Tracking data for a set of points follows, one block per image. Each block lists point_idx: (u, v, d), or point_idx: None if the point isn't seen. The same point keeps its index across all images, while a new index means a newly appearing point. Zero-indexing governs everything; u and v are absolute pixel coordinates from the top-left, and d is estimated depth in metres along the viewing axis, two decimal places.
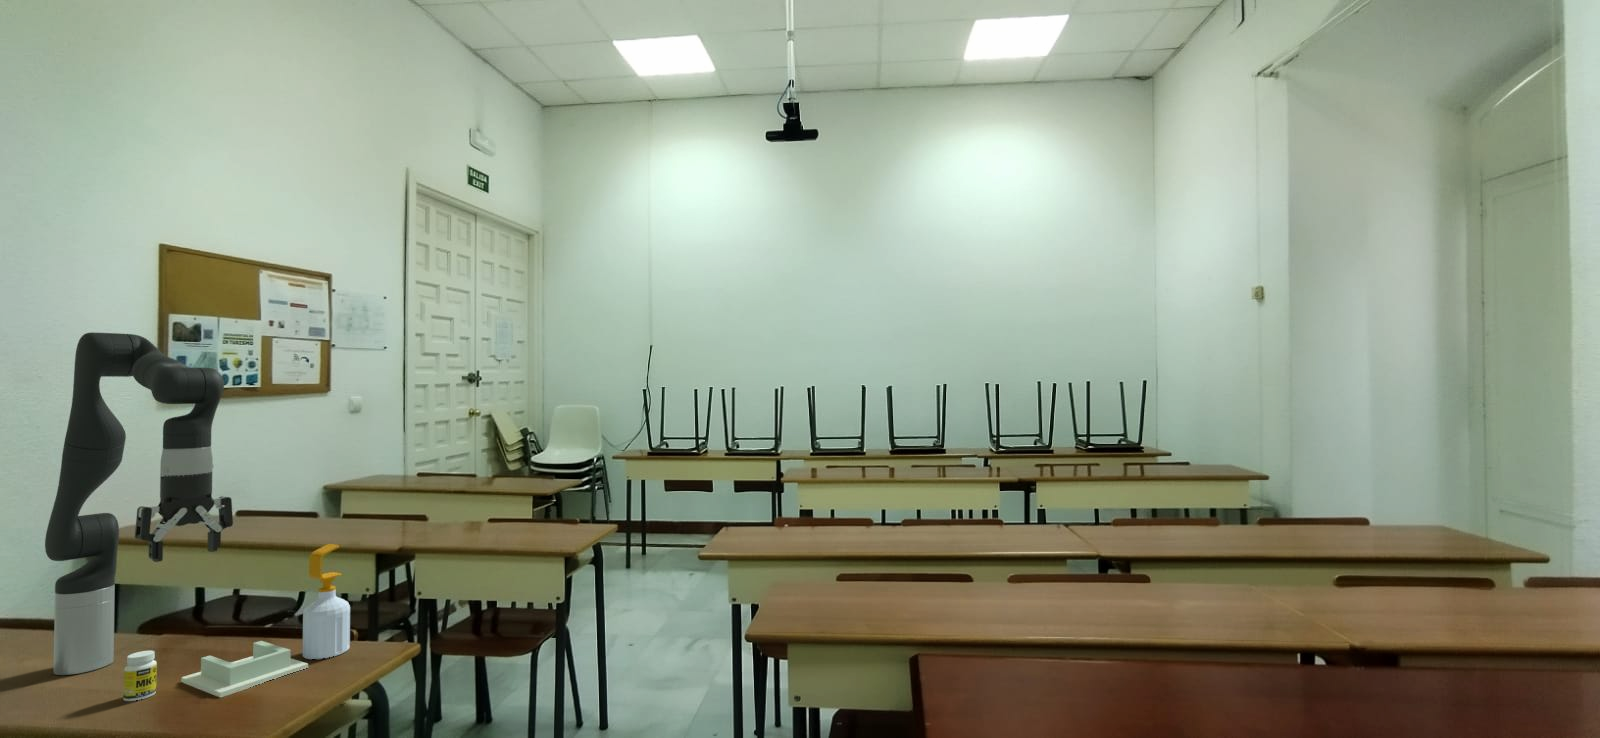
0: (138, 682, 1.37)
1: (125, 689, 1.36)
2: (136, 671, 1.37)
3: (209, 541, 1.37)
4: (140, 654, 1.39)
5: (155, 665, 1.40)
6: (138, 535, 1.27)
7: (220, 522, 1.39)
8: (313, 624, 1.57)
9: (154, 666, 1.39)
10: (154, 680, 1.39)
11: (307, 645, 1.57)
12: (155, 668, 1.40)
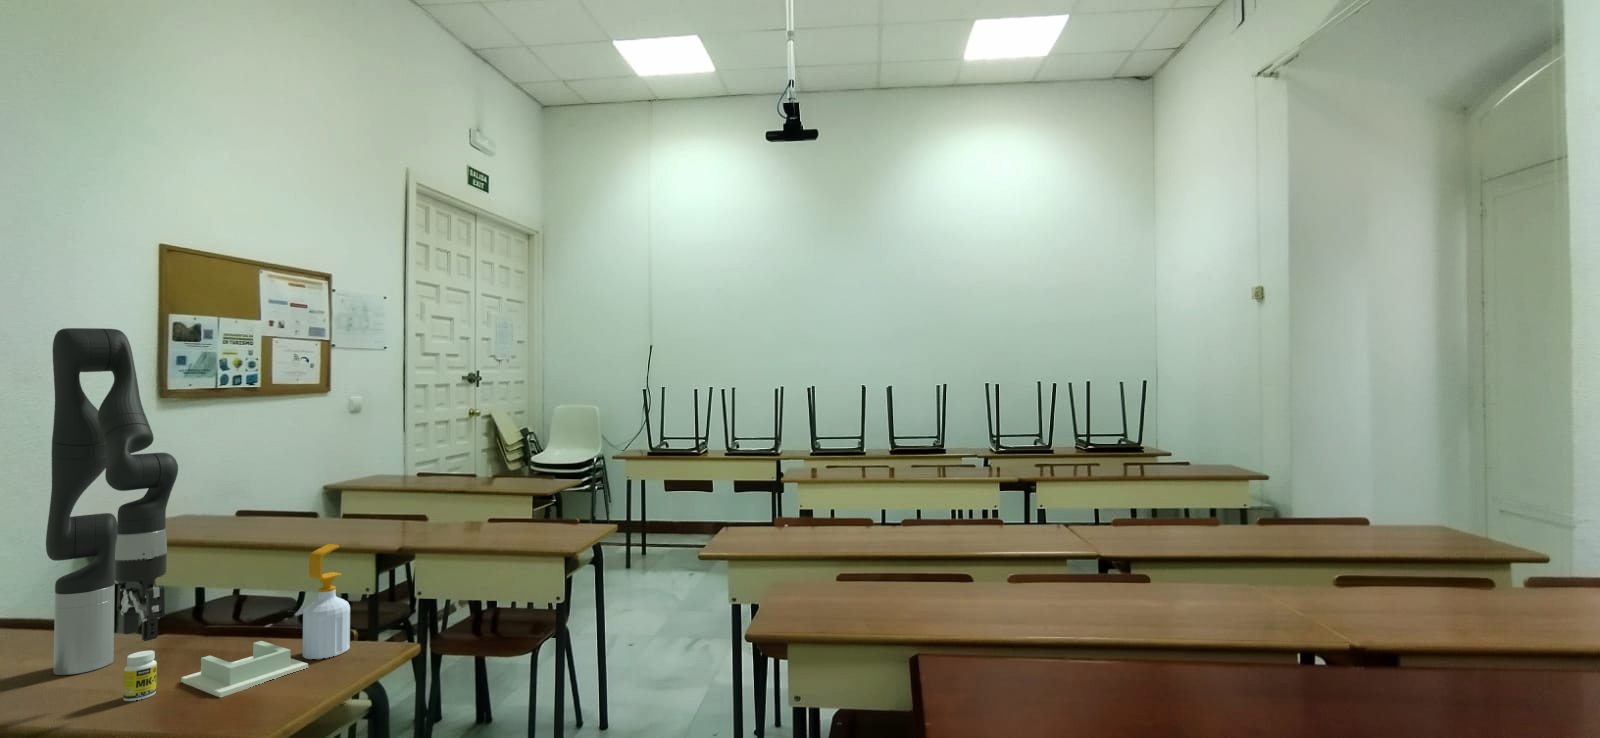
0: (138, 682, 1.37)
1: (125, 689, 1.36)
2: (136, 671, 1.37)
3: (129, 624, 1.40)
4: (140, 654, 1.39)
5: (155, 665, 1.40)
6: (155, 614, 1.35)
7: None
8: (313, 624, 1.57)
9: (154, 666, 1.39)
10: (154, 680, 1.39)
11: (307, 645, 1.57)
12: (155, 668, 1.40)
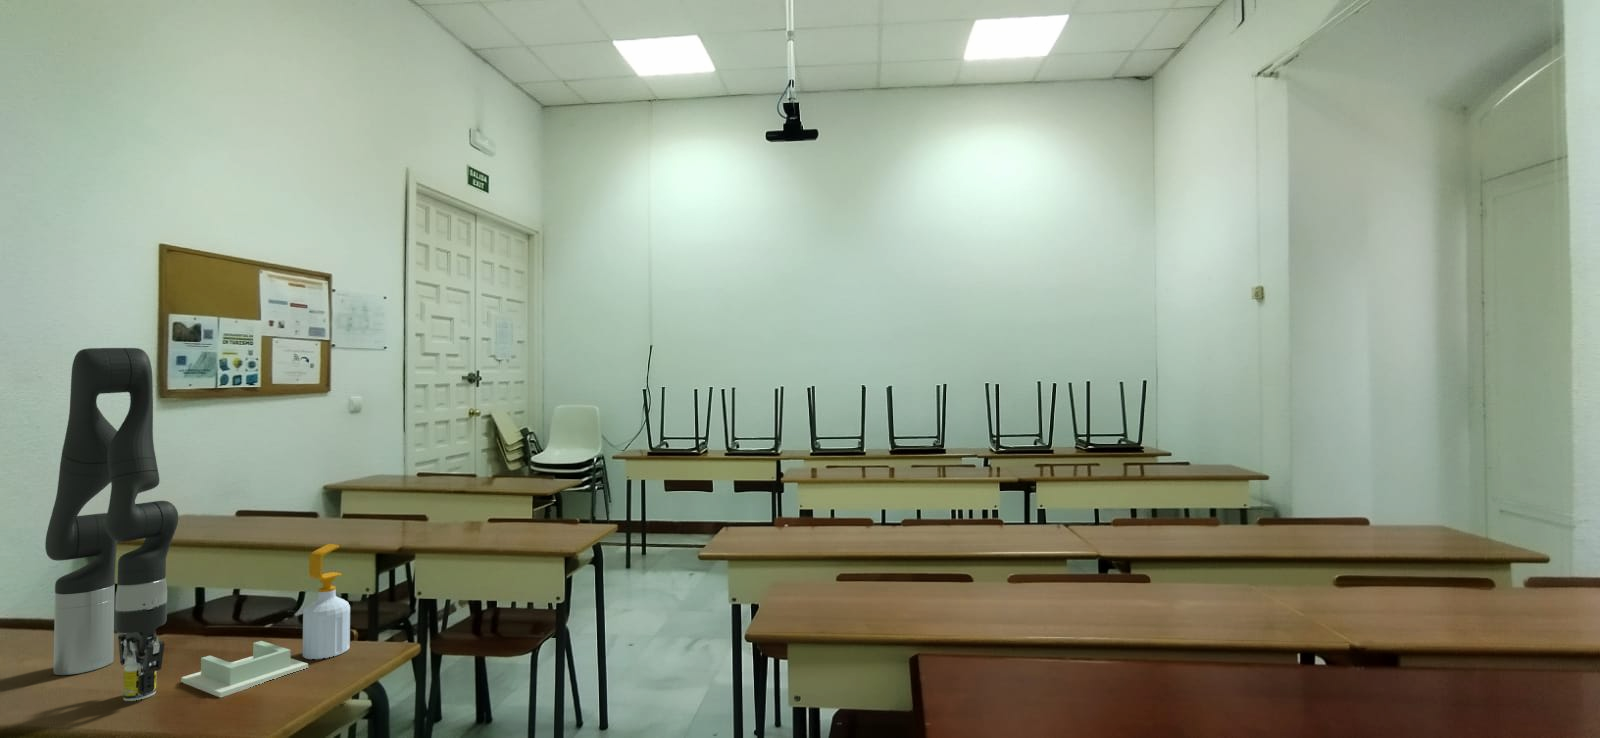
0: None
1: (125, 689, 1.36)
2: (136, 671, 1.37)
3: None
4: None
5: None
6: (152, 669, 1.36)
7: None
8: (313, 624, 1.57)
9: None
10: (154, 680, 1.39)
11: (307, 645, 1.57)
12: None
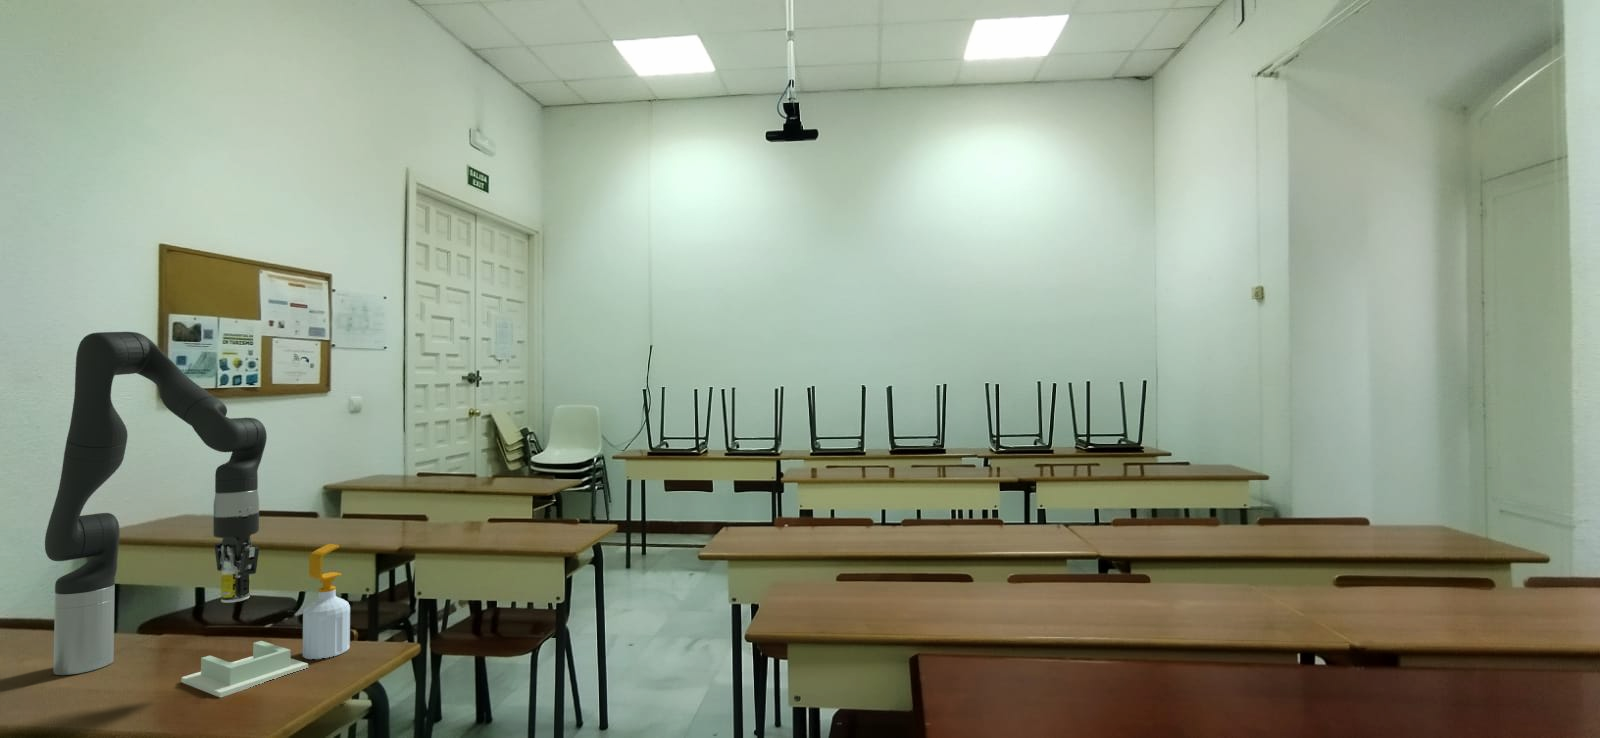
0: (234, 584, 1.45)
1: (223, 591, 1.45)
2: (232, 574, 1.45)
3: None
4: None
5: None
6: (248, 572, 1.45)
7: None
8: (313, 624, 1.57)
9: None
10: None
11: (307, 645, 1.57)
12: None
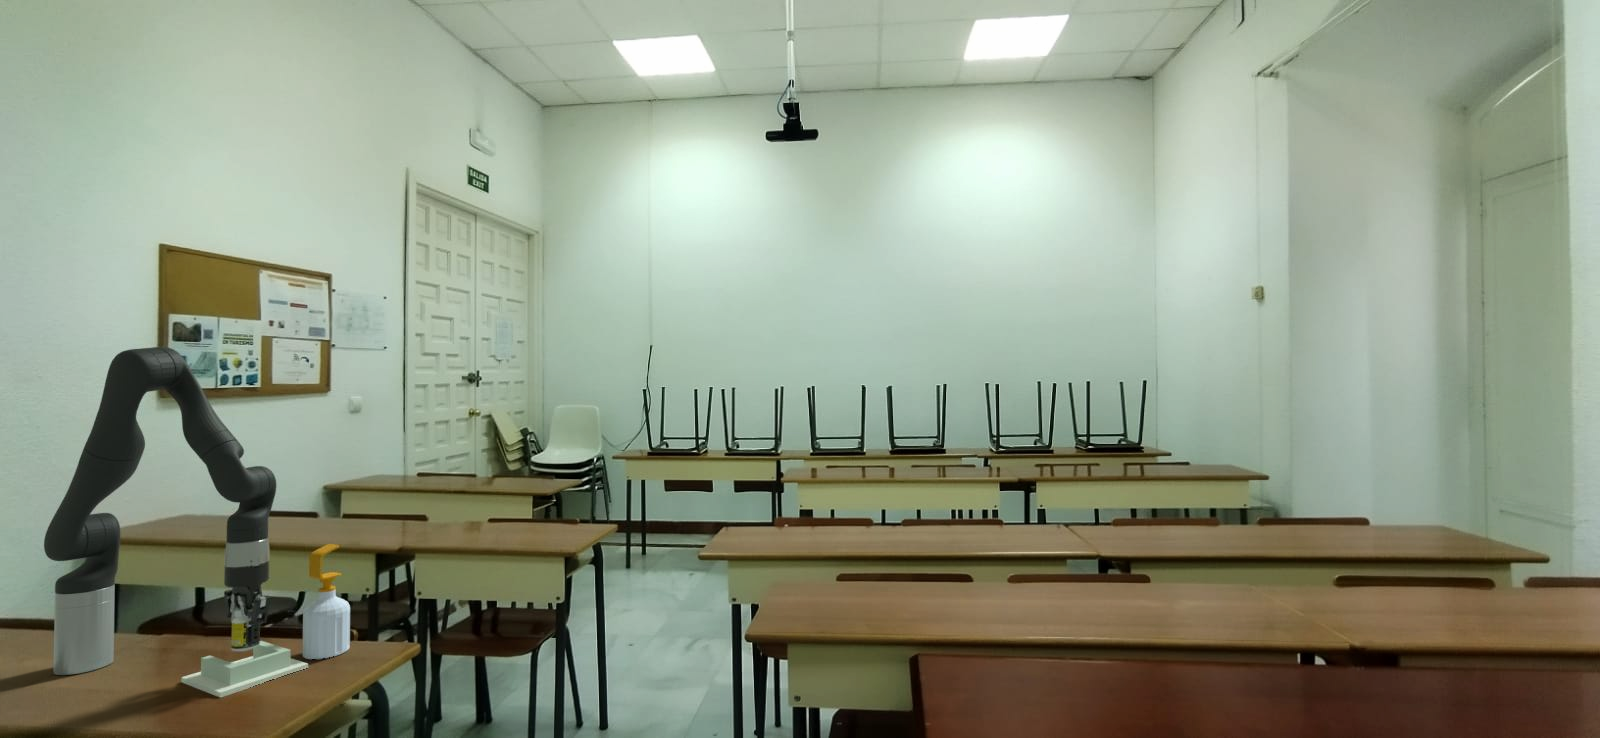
0: (245, 633, 1.47)
1: (233, 640, 1.47)
2: (243, 623, 1.47)
3: None
4: None
5: None
6: (259, 621, 1.46)
7: None
8: (313, 624, 1.57)
9: None
10: None
11: (307, 645, 1.57)
12: None
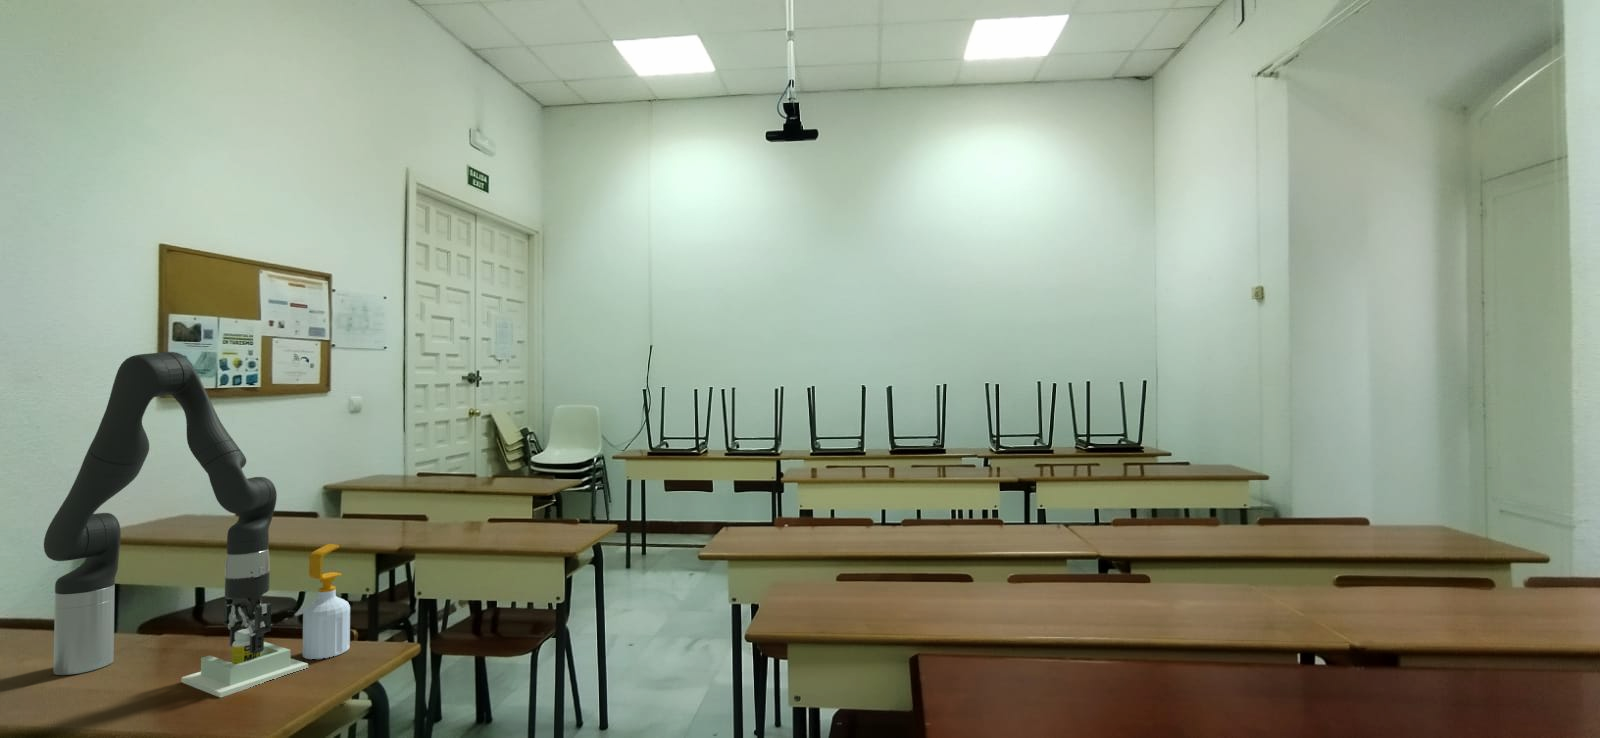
0: (245, 656, 1.47)
1: (234, 663, 1.46)
2: (244, 646, 1.47)
3: None
4: (246, 631, 1.49)
5: None
6: (263, 629, 1.46)
7: None
8: (313, 624, 1.57)
9: None
10: (259, 655, 1.49)
11: (307, 645, 1.57)
12: None
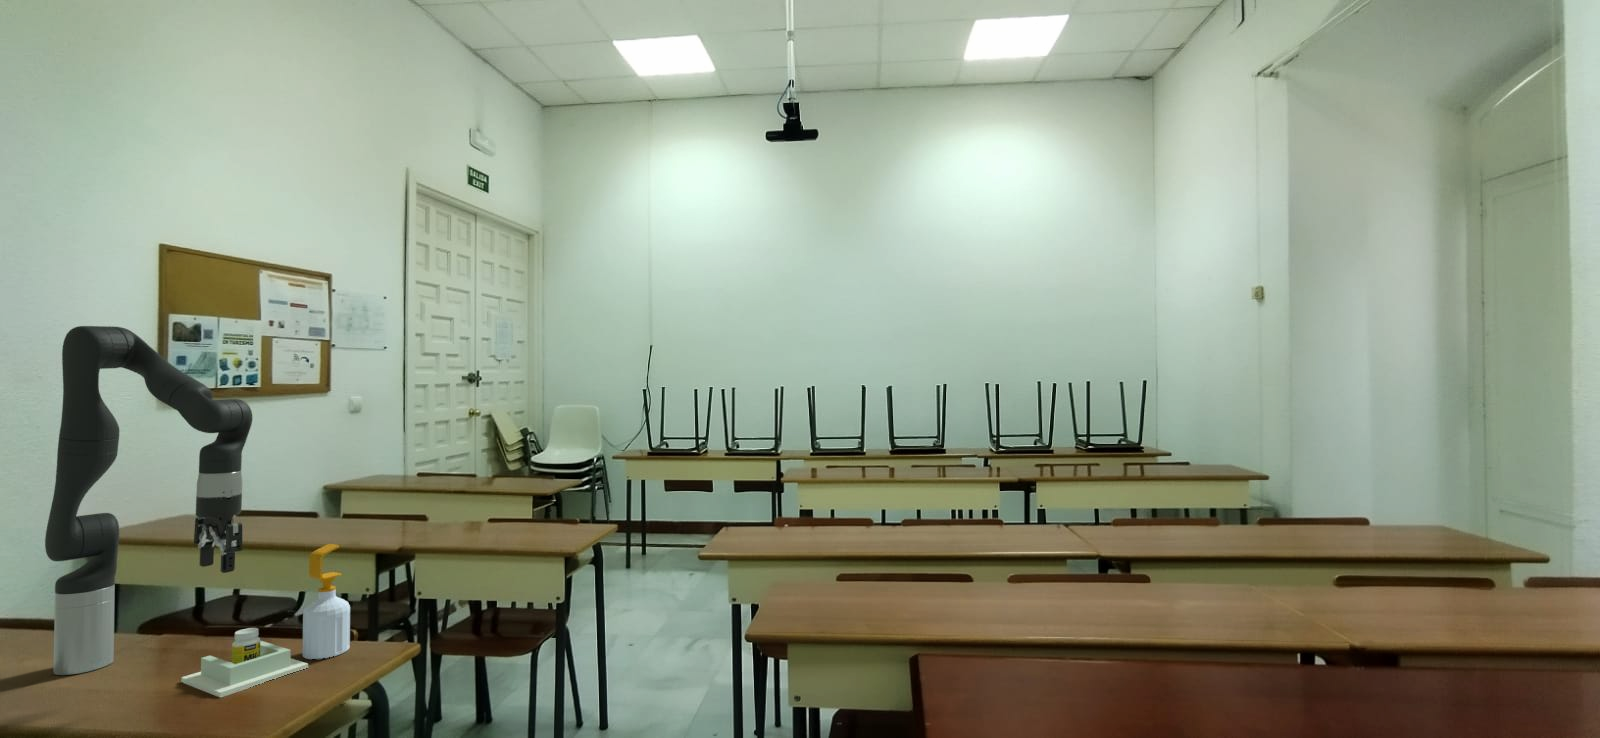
0: (245, 656, 1.47)
1: (234, 663, 1.46)
2: (244, 646, 1.47)
3: (205, 557, 1.50)
4: (246, 631, 1.49)
5: (259, 641, 1.50)
6: (234, 548, 1.46)
7: None
8: (313, 624, 1.57)
9: (259, 642, 1.49)
10: (259, 655, 1.49)
11: (307, 645, 1.57)
12: (259, 644, 1.50)
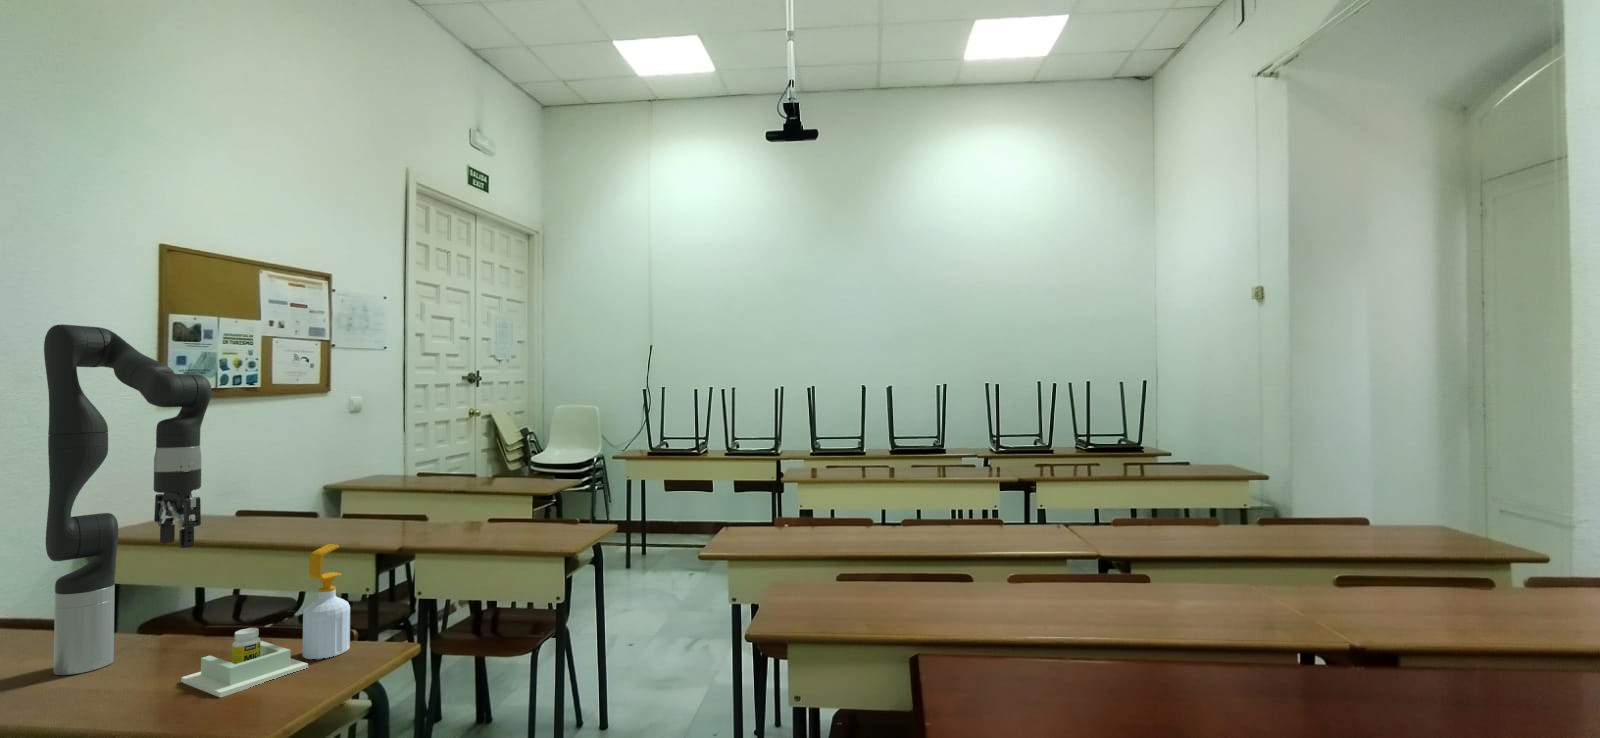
0: (246, 656, 1.47)
1: (234, 663, 1.46)
2: (244, 646, 1.47)
3: (165, 534, 1.49)
4: (246, 631, 1.49)
5: (259, 641, 1.50)
6: (192, 522, 1.44)
7: None
8: (313, 624, 1.57)
9: (259, 642, 1.49)
10: (259, 655, 1.49)
11: (307, 645, 1.57)
12: (259, 644, 1.50)
